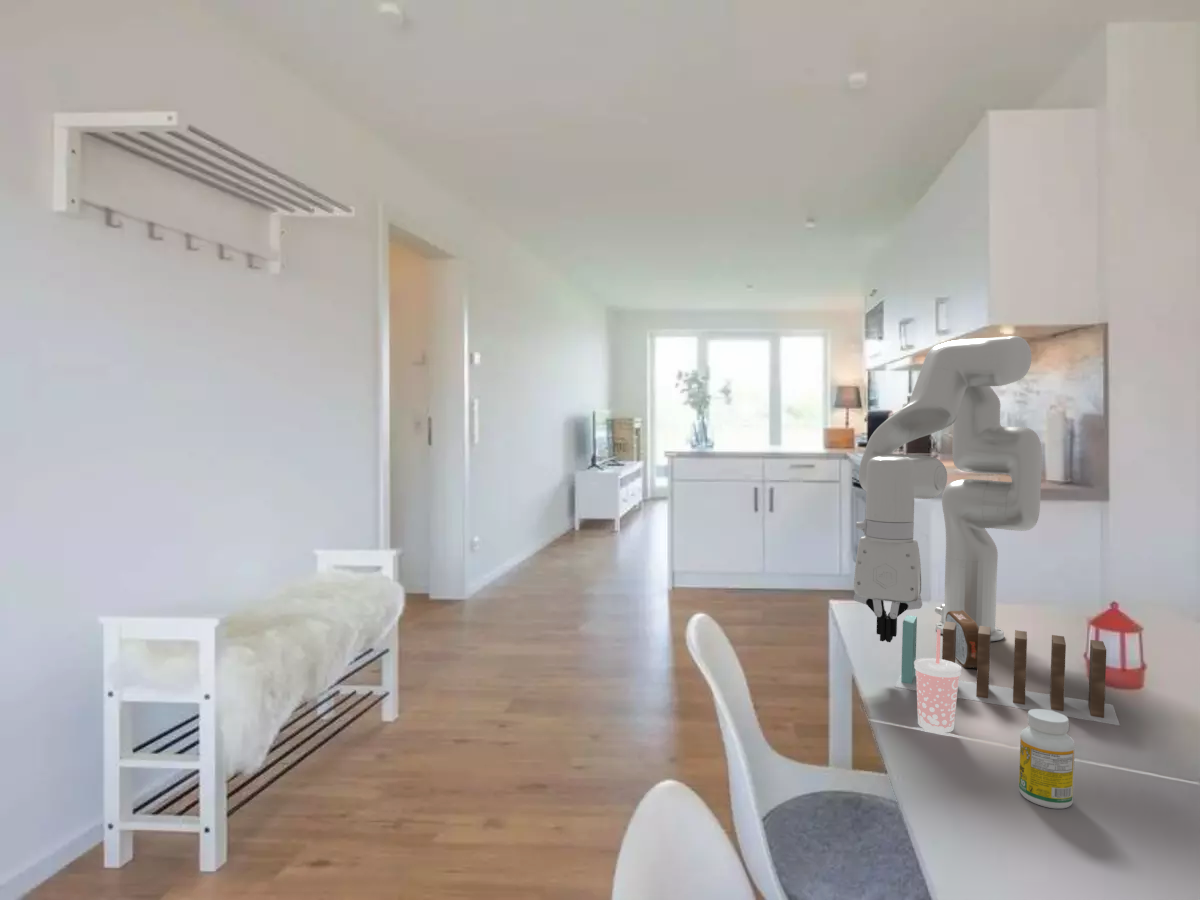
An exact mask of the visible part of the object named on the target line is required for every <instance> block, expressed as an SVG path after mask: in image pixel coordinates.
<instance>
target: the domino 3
mask: <svg viewBox="0 0 1200 900" xmlns="http://www.w3.org/2000/svg"><path fill="white" fill-rule="evenodd" d="M990 638H991V627H986V626H979V631H978V655H977V668H976V683H977V689H976V697H982V698H988V693H989V685H990V671H991V670H990V668H991V667H990V666H991V665H990V664H991V641H990Z"/></svg>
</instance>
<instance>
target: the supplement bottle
mask: <svg viewBox="0 0 1200 900" xmlns="http://www.w3.org/2000/svg"><path fill="white" fill-rule="evenodd" d="M1026 721H1027V724H1028V725H1029V726H1027V727H1025V728H1023V729H1022V731H1021V732H1020V745H1019V768H1018V769H1019V777H1018V791H1019V793H1020V794H1021V795H1022V797H1023V798H1025V800H1027V801H1029V802H1031V803H1033V804H1035V805H1038V806H1041V807H1045V808H1048V809H1054V810H1055V809H1056V810H1058V809H1066V808H1070V806H1072V805H1073V802H1074V780H1075V778H1074V777H1075V753H1076V752H1075V751H1076V750H1075V749H1076V747H1075V746H1076V745H1075V741H1074V739H1073V738H1072V737H1071V736H1070V735H1069V734H1068V731H1069V730H1070V728H1069V721H1070V719H1069V717H1067V716H1065V715H1063V714H1060V713H1058V712H1054V711H1050V710H1045V709H1032V710H1027V720H1026Z"/></svg>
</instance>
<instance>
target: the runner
mask: <svg viewBox="0 0 1200 900" xmlns="http://www.w3.org/2000/svg"><path fill="white" fill-rule="evenodd" d="M901 674H902V672H901V673H900V675H899V677H898V679H897V681H896V682H895V685H894V688H897V689H903V690H904V689H905V690H910V691H916V692H917V683H916V672H915V677H914V680H913V682H912V684H910V683H904V682H901ZM976 689H977V682H973V681H967V680H961V679H959V680H958V690H957V699H962V700H963V699H964V700H969V701H974V702H980V703H986V704H991V705H998V706H1003V707H1009V708H1016V709H1021V710H1027V711H1029V710H1032V709H1045V710H1050V711H1054V712H1058V713H1060V714H1063V715H1065V716H1066V717H1067V718H1075V719H1078V720H1085V721H1091V722H1097V723H1102V724H1107V725H1114V726H1120V721H1119V719H1118V717H1117V713H1116V710H1115V707H1114V704H1110V703H1105V705H1104V718H1101V717H1095V716H1091V714H1090V710H1089V706H1088V700H1084V699H1079V698H1073V697H1066V696H1064V711H1059V710H1053V709H1051V704H1050V693H1043V692H1035V691H1031V690H1030V691H1029V690H1025V705H1024V704H1018V703H1013V688H1010V687H1004V686H998V685H992V684H989V693H988V698H982V697H976Z"/></svg>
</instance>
